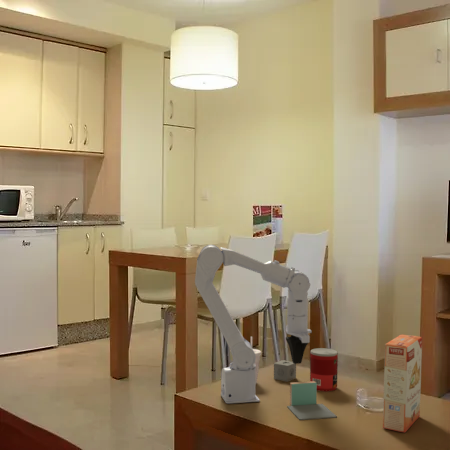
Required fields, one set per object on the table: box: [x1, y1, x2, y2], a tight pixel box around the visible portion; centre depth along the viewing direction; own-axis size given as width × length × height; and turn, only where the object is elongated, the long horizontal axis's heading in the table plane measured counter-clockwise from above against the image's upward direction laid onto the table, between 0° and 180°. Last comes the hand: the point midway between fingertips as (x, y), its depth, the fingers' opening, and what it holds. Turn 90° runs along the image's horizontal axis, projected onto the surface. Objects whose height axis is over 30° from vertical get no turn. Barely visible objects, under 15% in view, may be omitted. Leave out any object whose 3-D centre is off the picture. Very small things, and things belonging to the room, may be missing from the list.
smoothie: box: [250, 336, 262, 385], centre depth 182 cm, size 6×6×14 cm
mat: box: [286, 403, 338, 421], centre depth 157 cm, size 10×10×1 cm
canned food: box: [309, 347, 339, 392], centre depth 178 cm, size 8×8×11 cm
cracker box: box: [382, 334, 423, 434], centre depth 149 cm, size 14×6×21 cm, turn 148°
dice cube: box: [273, 359, 297, 383], centre depth 187 cm, size 5×5×5 cm
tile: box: [289, 380, 318, 406], centre depth 163 cm, size 7×2×6 cm, turn 102°
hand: (296, 363), depth 168 cm, fingers closed
